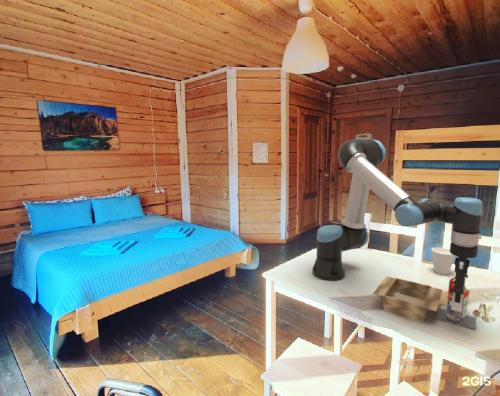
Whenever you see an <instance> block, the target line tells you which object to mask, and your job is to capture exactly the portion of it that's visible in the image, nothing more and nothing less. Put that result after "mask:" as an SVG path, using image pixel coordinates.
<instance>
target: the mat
mask: <svg viewBox="0 0 500 396" xmlns="http://www.w3.org/2000/svg"><path fill="white" fill-rule="evenodd" d="M446 310H447V308H446V309H445V308H441V307H438V309H437V312H436V313H437V314H436V320H439V321H442V322H446V323H448V324H452V325H455V326H460V327H463V328H466V329H469V330H472V331H473V330H474V331H476V325H477V317H475V316H472V315H471V316H470V315H466V316H465V317H464V318H463V319H461V320H460V321H459V322H457V323H456V322H453V321H451V320H448V319H446Z"/></svg>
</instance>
